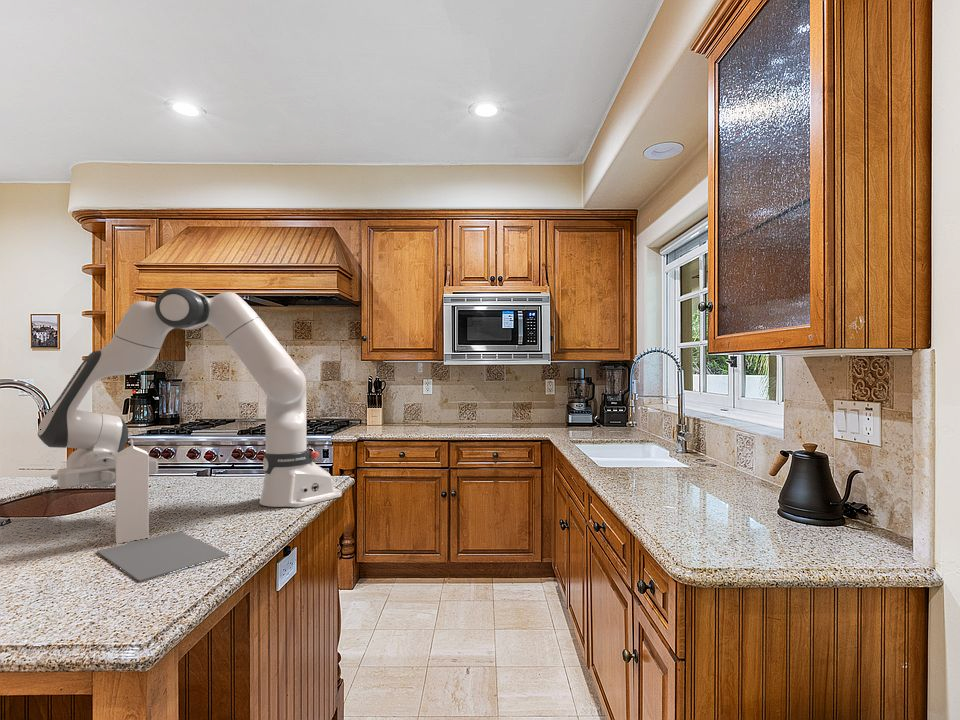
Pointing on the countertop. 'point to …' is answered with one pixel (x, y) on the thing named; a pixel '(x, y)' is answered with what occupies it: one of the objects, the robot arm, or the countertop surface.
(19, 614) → the countertop surface
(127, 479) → the milk
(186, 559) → the mat
